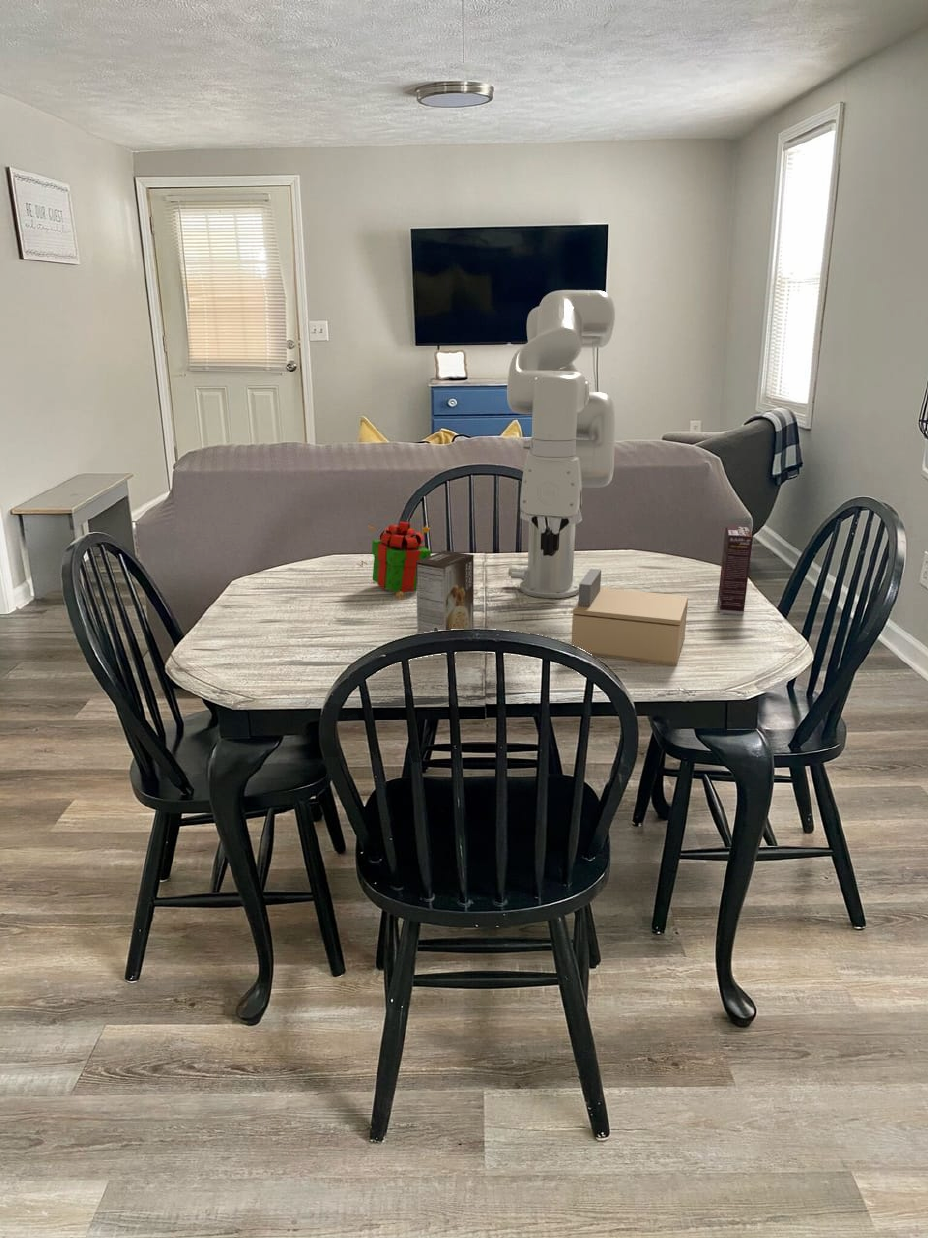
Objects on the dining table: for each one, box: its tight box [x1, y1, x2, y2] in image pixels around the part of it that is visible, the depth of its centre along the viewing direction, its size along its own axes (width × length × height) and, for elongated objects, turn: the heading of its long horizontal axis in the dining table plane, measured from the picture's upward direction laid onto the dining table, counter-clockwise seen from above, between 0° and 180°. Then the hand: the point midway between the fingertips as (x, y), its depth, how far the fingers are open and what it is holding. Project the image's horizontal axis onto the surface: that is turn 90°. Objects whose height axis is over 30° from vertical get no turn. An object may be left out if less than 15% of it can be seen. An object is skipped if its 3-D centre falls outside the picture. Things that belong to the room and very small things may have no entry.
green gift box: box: [356, 521, 432, 600], centre depth 197 cm, size 20×19×14 cm
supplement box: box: [717, 525, 754, 616], centre depth 183 cm, size 9×5×16 cm, turn 168°
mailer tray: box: [570, 602, 689, 667], centre depth 164 cm, size 18×14×7 cm
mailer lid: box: [572, 568, 689, 625], centre depth 161 cm, size 18×14×5 cm
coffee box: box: [416, 550, 475, 634], centre depth 162 cm, size 9×6×16 cm
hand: (549, 554), depth 163 cm, fingers closed
